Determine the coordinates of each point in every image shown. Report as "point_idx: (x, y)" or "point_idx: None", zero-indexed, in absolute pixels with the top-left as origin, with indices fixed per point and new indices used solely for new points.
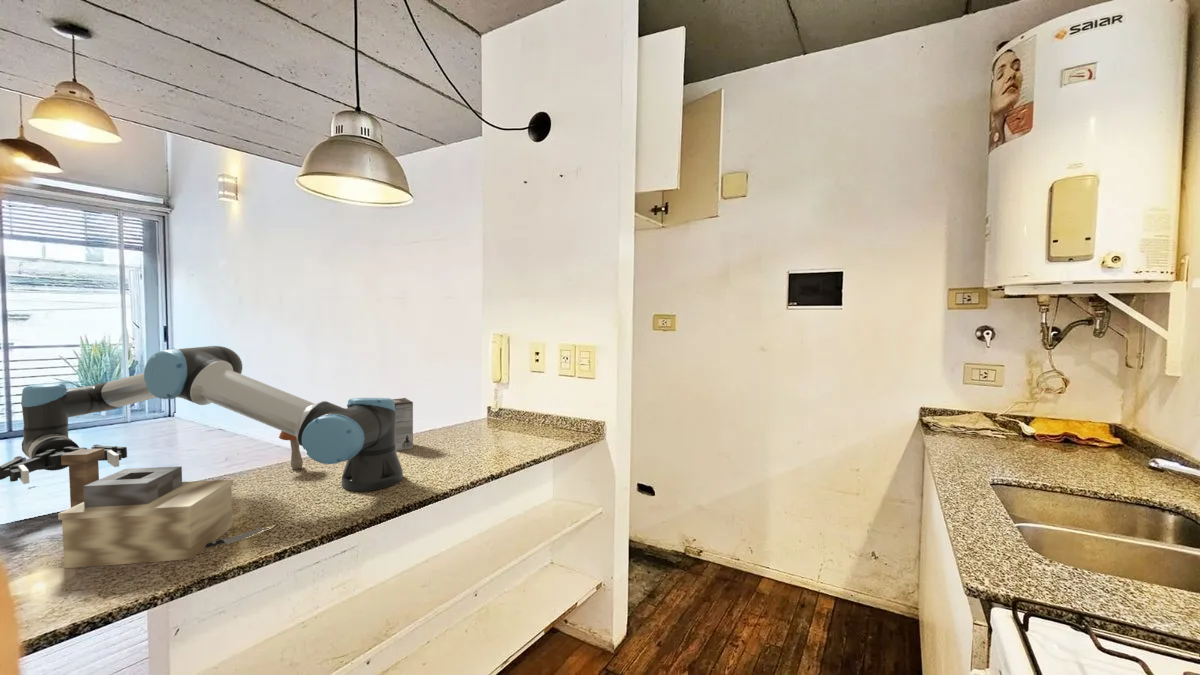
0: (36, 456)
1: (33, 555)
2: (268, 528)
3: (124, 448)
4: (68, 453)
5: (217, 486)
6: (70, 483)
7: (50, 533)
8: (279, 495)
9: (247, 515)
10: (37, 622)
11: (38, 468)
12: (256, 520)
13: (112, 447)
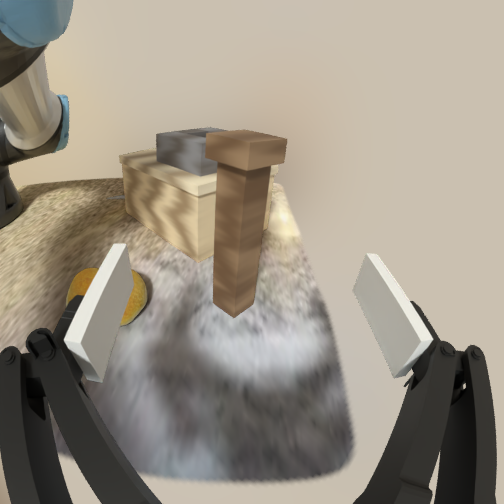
0: (425, 486)
1: (296, 273)
2: (119, 196)
3: (14, 347)
4: (274, 139)
5: (143, 151)
6: (264, 208)
7: (282, 342)
8: (31, 244)
9: (95, 223)
10: (281, 189)
11: (375, 471)
12: (105, 211)
13: (50, 333)
